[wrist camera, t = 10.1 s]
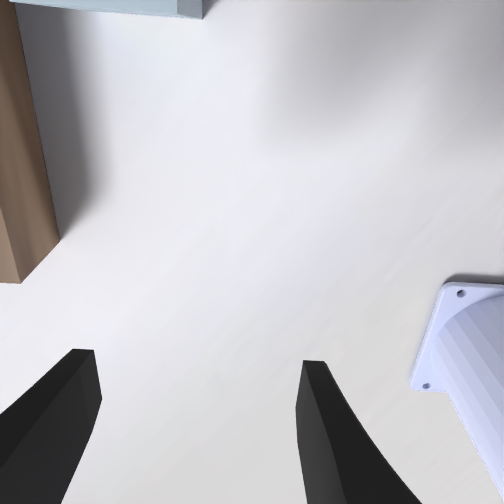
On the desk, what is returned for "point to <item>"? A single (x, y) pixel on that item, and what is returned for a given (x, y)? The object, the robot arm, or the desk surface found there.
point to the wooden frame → (20, 164)
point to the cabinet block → (130, 6)
